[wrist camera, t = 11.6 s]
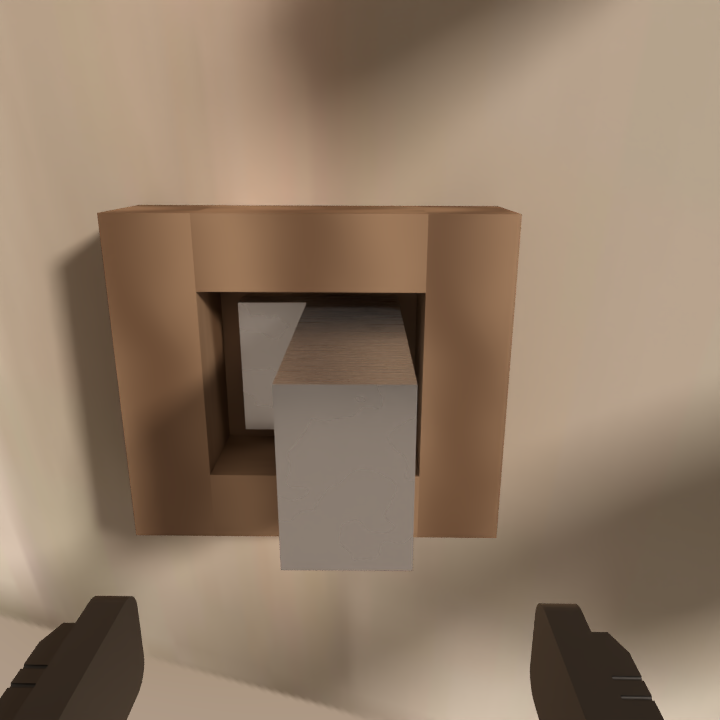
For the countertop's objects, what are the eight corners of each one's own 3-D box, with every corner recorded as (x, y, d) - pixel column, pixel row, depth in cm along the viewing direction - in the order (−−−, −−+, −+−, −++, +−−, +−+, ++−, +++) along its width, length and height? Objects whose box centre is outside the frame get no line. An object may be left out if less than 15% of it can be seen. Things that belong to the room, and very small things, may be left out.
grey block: (396, 295, 29) (417, 384, 17) (394, 417, 30) (412, 570, 19) (244, 295, 29) (163, 384, 17) (251, 416, 30) (182, 569, 19)
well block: (497, 206, 28) (521, 214, 23) (478, 487, 32) (496, 538, 28) (138, 205, 28) (97, 212, 24) (166, 485, 32) (136, 534, 28)
